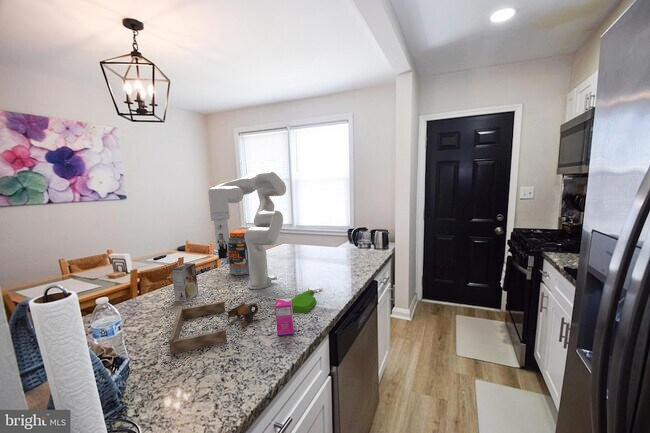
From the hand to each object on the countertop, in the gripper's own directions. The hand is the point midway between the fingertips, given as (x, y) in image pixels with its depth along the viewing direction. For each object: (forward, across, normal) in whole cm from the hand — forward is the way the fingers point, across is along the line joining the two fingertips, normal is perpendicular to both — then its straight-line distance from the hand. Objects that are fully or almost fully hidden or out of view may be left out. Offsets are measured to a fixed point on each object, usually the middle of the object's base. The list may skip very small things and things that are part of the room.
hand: (223, 255), depth 117 cm
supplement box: (+24, -30, -21) cm, 43 cm away
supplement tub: (+24, +51, -8) cm, 56 cm away
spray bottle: (+24, -6, -35) cm, 43 cm away
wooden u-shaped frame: (+24, -16, +9) cm, 30 cm away
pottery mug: (+24, -15, -7) cm, 29 cm away
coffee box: (+24, +20, +20) cm, 37 cm away
